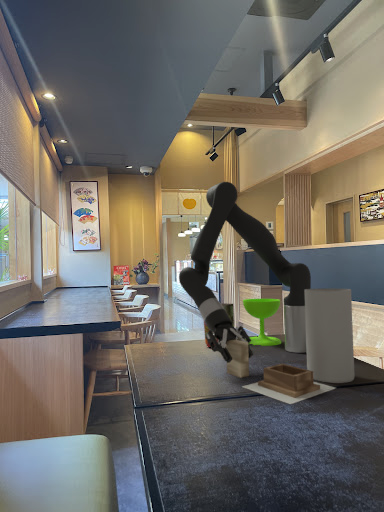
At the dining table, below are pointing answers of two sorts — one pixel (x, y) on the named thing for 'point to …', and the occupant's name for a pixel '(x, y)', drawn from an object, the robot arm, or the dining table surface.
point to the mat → (285, 397)
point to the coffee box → (229, 311)
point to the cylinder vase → (329, 334)
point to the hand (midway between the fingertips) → (240, 358)
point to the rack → (288, 380)
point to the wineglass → (262, 318)
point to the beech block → (238, 358)
